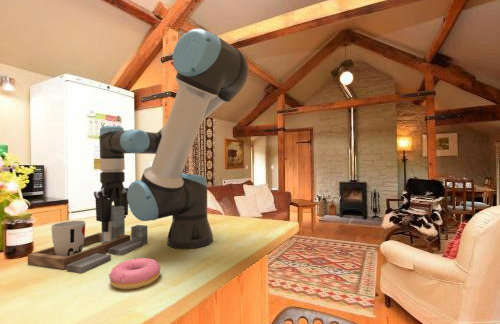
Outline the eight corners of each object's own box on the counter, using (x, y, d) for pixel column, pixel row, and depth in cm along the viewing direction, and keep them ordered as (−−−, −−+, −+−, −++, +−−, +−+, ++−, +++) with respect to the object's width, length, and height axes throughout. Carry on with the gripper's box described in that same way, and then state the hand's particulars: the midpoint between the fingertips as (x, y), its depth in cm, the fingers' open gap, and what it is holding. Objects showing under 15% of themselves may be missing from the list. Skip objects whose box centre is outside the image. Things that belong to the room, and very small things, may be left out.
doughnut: (166, 284, 59) (166, 265, 59) (111, 298, 54) (111, 277, 54) (155, 268, 69) (154, 252, 69) (107, 278, 63) (106, 261, 63)
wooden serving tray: (133, 241, 91) (133, 206, 91) (64, 269, 68) (63, 222, 68) (102, 238, 95) (102, 205, 95) (27, 263, 72) (27, 219, 72)
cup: (68, 264, 71) (68, 227, 71) (44, 262, 73) (43, 226, 73) (92, 254, 79) (92, 221, 79) (69, 252, 81) (69, 220, 81)
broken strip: (148, 243, 89) (148, 225, 89) (81, 273, 65) (81, 249, 65) (136, 242, 91) (136, 224, 91) (66, 271, 67) (66, 247, 67)
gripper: (122, 170, 101) (123, 231, 101) (81, 172, 84) (82, 245, 84) (138, 170, 98) (139, 233, 98) (100, 172, 82) (101, 247, 82)
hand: (113, 238), depth 91 cm, fingers closed on wooden serving tray, 4 cm apart
